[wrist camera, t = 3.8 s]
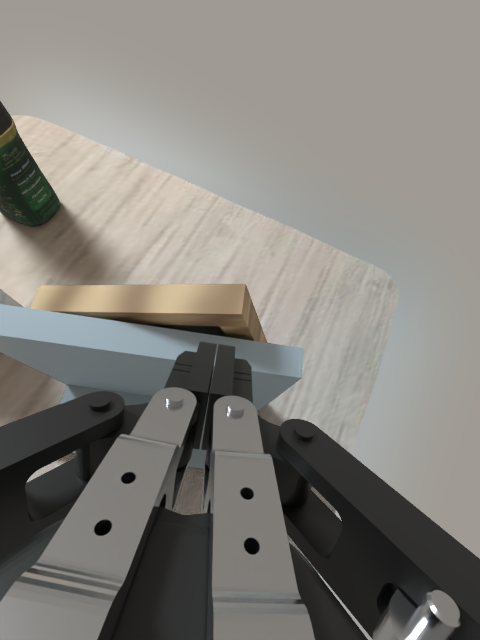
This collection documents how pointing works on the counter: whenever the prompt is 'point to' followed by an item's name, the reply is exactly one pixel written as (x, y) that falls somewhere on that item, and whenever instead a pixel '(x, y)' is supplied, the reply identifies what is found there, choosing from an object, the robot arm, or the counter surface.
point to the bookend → (131, 356)
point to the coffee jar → (22, 179)
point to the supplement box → (8, 300)
